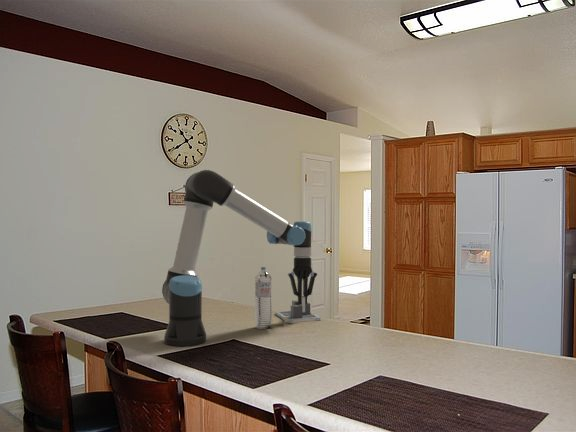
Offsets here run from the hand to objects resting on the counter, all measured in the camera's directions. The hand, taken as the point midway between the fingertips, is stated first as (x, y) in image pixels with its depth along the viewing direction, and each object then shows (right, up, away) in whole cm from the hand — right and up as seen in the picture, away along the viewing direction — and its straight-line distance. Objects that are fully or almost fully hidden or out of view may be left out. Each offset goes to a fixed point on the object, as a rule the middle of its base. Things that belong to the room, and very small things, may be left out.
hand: (302, 311), depth 215 cm
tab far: (-2, -4, +12) cm, 13 cm away
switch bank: (-2, -5, +6) cm, 8 cm away
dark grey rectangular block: (-3, -3, -1) cm, 4 cm away
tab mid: (+1, -4, +7) cm, 8 cm away
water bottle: (-16, -5, -9) cm, 20 cm away
